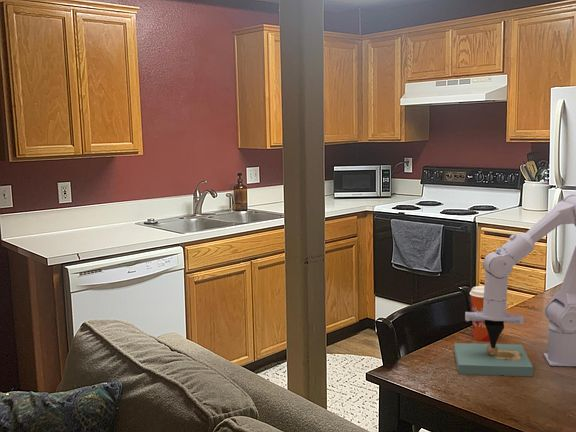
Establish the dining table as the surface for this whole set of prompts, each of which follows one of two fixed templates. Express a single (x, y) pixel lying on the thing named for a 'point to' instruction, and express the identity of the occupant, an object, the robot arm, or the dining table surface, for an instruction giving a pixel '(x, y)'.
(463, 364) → the hole board
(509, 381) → the dining table surface
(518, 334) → the dining table surface
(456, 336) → the dining table surface
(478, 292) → the coffee cup
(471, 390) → the dining table surface
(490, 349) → the maple ball
